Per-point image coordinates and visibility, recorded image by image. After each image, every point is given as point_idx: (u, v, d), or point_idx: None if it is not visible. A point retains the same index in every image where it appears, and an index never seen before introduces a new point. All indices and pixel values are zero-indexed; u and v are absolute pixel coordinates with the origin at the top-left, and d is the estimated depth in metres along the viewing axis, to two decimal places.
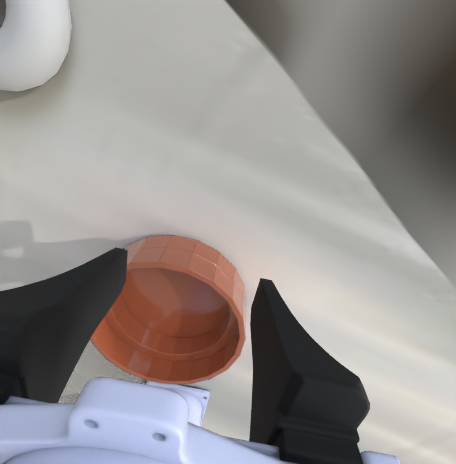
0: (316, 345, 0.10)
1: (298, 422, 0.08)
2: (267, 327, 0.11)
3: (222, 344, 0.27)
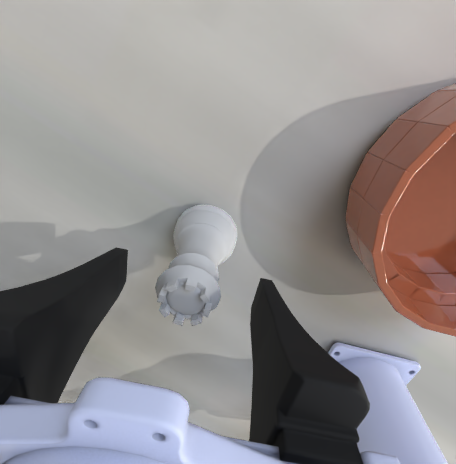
0: (316, 345, 0.10)
1: (298, 422, 0.08)
2: (267, 327, 0.11)
3: None
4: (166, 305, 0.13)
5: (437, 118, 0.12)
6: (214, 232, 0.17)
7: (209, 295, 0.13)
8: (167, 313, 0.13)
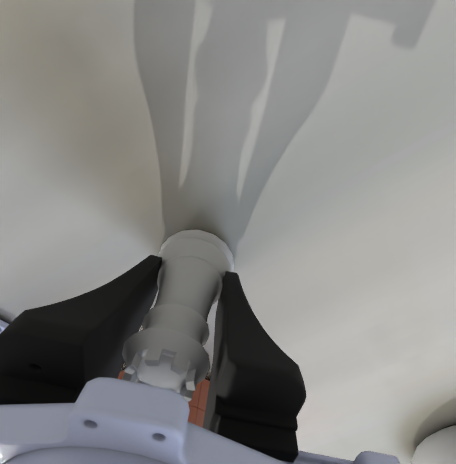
0: (264, 334, 0.10)
1: (236, 410, 0.08)
2: (223, 318, 0.11)
3: None
4: (160, 358, 0.09)
5: None
6: None
7: None
8: (149, 365, 0.09)
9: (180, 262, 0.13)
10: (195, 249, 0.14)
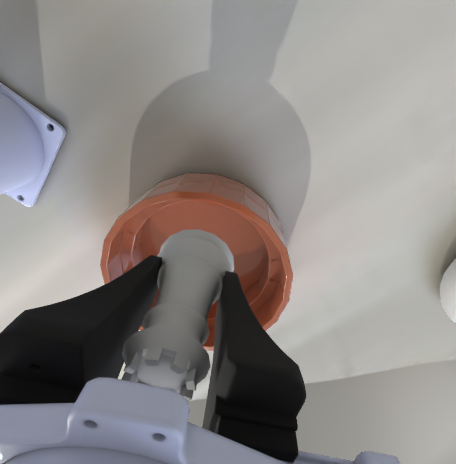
0: (265, 334, 0.10)
1: (236, 410, 0.08)
2: (223, 318, 0.11)
3: None
4: (160, 358, 0.09)
5: None
6: None
7: None
8: (149, 365, 0.09)
9: (180, 262, 0.13)
10: (195, 249, 0.14)
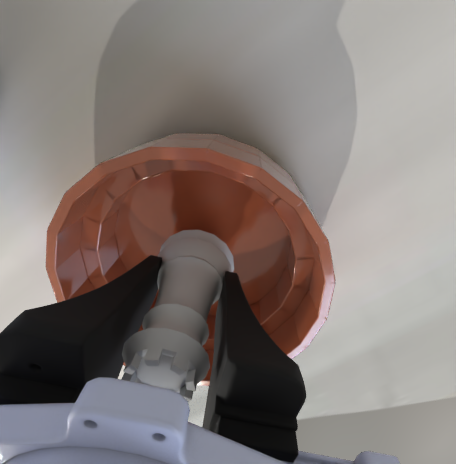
0: (264, 334, 0.10)
1: (236, 410, 0.08)
2: (223, 318, 0.11)
3: None
4: (160, 358, 0.09)
5: None
6: None
7: None
8: (149, 365, 0.09)
9: (180, 262, 0.13)
10: (195, 249, 0.14)
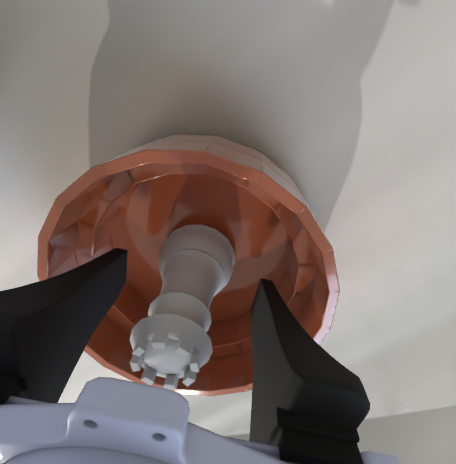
0: (316, 345, 0.10)
1: (298, 422, 0.08)
2: (267, 327, 0.11)
3: None
4: (166, 341, 0.10)
5: None
6: None
7: (168, 382, 0.11)
8: (156, 348, 0.09)
9: (183, 255, 0.14)
10: (198, 242, 0.14)
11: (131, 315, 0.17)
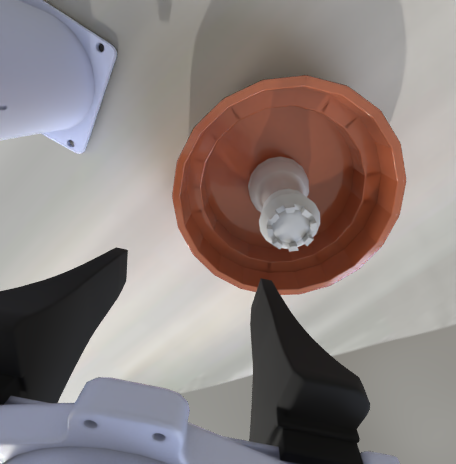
0: (316, 345, 0.10)
1: (298, 422, 0.08)
2: (267, 327, 0.11)
3: (208, 235, 0.21)
4: None
5: None
6: None
7: (290, 248, 0.15)
8: (288, 212, 0.14)
9: (275, 175, 0.18)
10: (283, 166, 0.18)
11: (226, 240, 0.21)
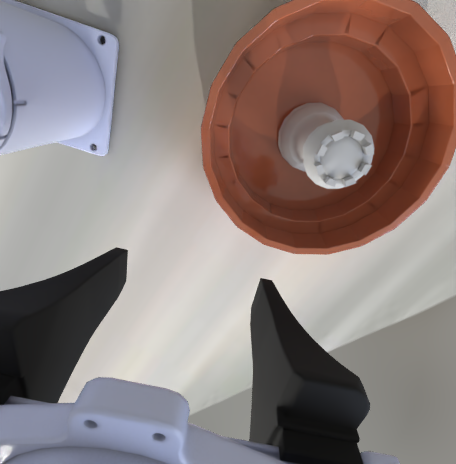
0: (316, 345, 0.10)
1: (298, 422, 0.08)
2: (267, 327, 0.11)
3: (247, 206, 0.20)
4: None
5: None
6: None
7: (346, 184, 0.13)
8: (336, 140, 0.12)
9: (307, 119, 0.16)
10: (313, 109, 0.17)
11: (267, 208, 0.20)
